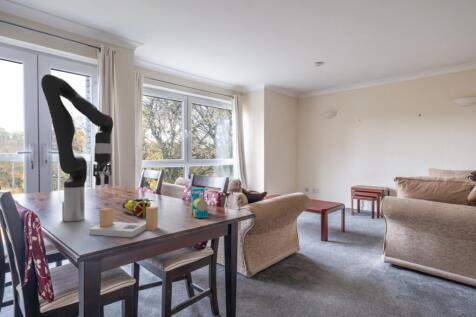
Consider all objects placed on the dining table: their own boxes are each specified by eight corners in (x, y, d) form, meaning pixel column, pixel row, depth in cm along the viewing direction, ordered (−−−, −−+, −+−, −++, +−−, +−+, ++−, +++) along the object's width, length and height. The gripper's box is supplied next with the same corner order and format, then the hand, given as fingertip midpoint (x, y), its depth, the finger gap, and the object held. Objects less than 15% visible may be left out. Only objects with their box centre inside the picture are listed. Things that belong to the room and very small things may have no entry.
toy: (119, 211, 169) (128, 220, 143) (119, 196, 169) (128, 202, 143) (146, 208, 177) (159, 216, 152) (146, 194, 177) (159, 200, 152)
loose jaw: (145, 229, 128) (145, 208, 127) (149, 227, 131) (150, 206, 131) (153, 229, 127) (154, 208, 127) (157, 227, 131) (157, 206, 131)
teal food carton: (195, 219, 147) (196, 192, 147) (189, 212, 163) (189, 187, 162) (209, 218, 150) (210, 191, 150) (202, 212, 166) (202, 187, 165)
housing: (89, 234, 119) (89, 228, 119) (106, 226, 131) (106, 221, 131) (131, 237, 116) (132, 231, 116) (145, 229, 128) (145, 224, 127)
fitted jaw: (99, 231, 122) (99, 209, 122) (105, 229, 126) (105, 207, 126) (107, 232, 122) (107, 210, 121) (113, 229, 126) (113, 208, 125)
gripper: (102, 153, 146) (101, 184, 145) (87, 152, 131) (87, 185, 131) (116, 153, 146) (116, 183, 145) (103, 151, 132) (103, 185, 131)
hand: (102, 184), depth 138 cm, fingers open, 8 cm apart
